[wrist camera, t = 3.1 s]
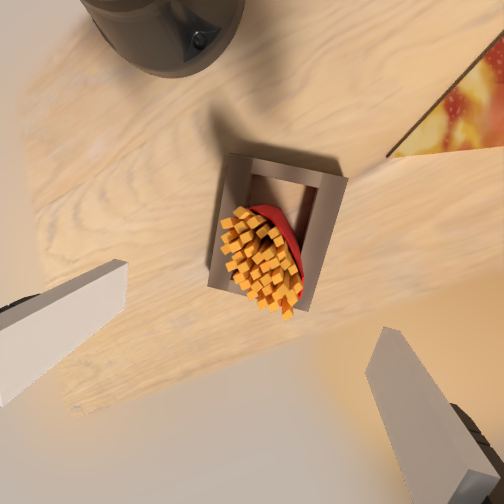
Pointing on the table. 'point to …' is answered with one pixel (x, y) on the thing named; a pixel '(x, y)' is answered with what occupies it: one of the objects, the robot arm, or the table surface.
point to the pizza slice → (464, 113)
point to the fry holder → (316, 228)
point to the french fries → (265, 257)
